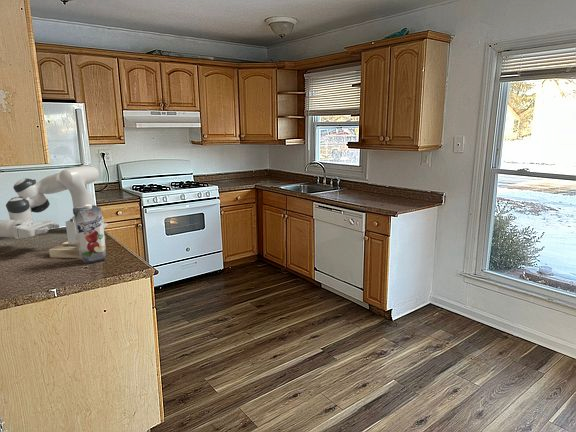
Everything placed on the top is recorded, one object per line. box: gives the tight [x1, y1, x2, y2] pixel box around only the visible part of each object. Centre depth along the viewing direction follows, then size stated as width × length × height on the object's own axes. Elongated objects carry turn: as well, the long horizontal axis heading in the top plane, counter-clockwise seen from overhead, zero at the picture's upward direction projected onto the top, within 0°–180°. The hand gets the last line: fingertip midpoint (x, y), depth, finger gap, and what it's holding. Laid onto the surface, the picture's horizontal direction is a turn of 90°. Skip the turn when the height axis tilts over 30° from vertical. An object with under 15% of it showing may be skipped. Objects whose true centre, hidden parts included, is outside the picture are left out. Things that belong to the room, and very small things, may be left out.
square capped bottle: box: [65, 218, 78, 245], centre depth 200 cm, size 4×4×13 cm
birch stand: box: [48, 240, 81, 259], centre depth 201 cm, size 18×16×8 cm
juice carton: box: [74, 204, 107, 265], centre depth 186 cm, size 9×10×27 cm
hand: (52, 228), depth 200 cm, fingers open, 8 cm apart
